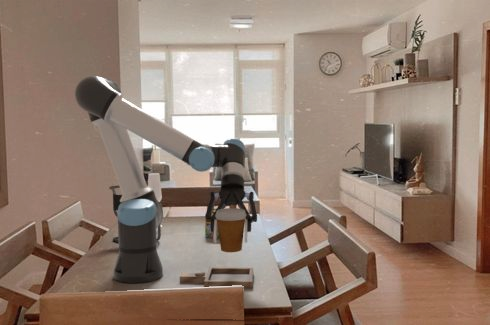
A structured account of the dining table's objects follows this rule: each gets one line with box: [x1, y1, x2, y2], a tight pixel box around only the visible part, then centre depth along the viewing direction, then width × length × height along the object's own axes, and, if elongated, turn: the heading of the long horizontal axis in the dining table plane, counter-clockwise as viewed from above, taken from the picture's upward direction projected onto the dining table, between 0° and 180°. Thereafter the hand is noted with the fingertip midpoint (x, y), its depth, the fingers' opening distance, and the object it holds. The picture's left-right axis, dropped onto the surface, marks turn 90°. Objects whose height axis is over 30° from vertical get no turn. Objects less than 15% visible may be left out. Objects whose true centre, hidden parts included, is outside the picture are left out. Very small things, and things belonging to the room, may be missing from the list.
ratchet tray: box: [179, 266, 254, 289], centre depth 160 cm, size 22×14×2 cm, turn 88°
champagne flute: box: [147, 172, 163, 229], centre depth 237 cm, size 7×7×24 cm
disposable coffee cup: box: [215, 207, 247, 253], centre depth 159 cm, size 10×10×12 cm
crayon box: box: [204, 207, 219, 239], centre depth 217 cm, size 7×3×12 cm, turn 76°
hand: (230, 240), depth 156 cm, fingers closed on disposable coffee cup, 8 cm apart
